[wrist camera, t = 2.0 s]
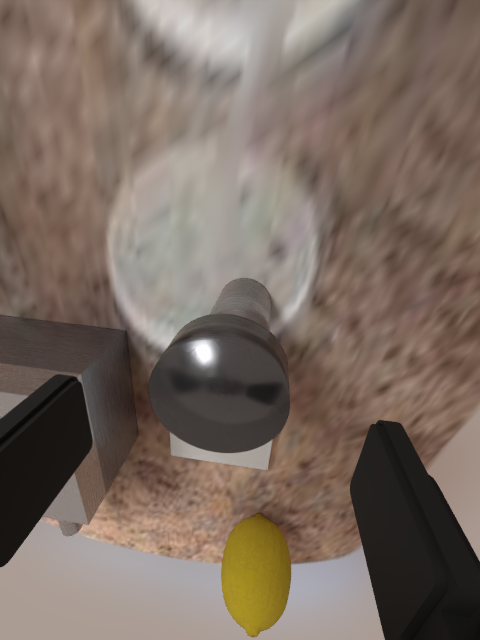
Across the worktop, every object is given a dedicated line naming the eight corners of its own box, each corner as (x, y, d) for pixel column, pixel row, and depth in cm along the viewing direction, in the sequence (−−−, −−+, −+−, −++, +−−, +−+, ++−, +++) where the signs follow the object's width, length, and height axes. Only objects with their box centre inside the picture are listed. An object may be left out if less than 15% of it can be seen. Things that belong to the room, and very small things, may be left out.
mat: (168, 348, 20) (165, 353, 19) (284, 362, 19) (284, 368, 19) (173, 449, 24) (171, 455, 24) (267, 463, 24) (267, 470, 23)
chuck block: (-9, 314, 20) (-137, 371, 14) (125, 330, 20) (54, 399, 13) (47, 479, 28) (-19, 563, 22) (145, 495, 27) (105, 588, 21)
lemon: (271, 539, 28) (268, 661, 21) (220, 517, 28) (200, 635, 20) (300, 510, 26) (309, 637, 18) (245, 487, 25) (233, 607, 18)
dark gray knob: (207, 261, 17) (143, 331, 9) (289, 269, 16) (300, 350, 8) (206, 332, 19) (153, 442, 11) (278, 341, 19) (279, 462, 10)
